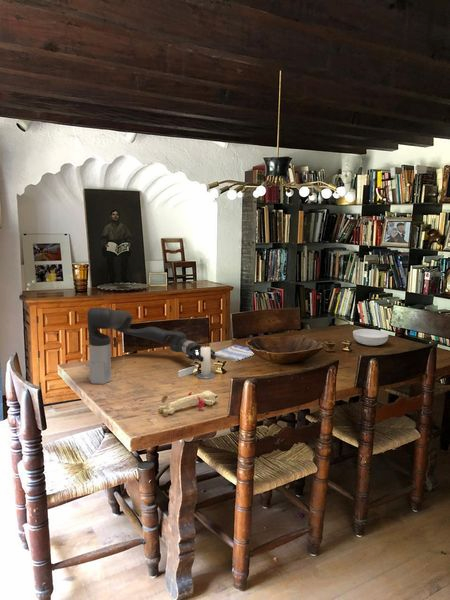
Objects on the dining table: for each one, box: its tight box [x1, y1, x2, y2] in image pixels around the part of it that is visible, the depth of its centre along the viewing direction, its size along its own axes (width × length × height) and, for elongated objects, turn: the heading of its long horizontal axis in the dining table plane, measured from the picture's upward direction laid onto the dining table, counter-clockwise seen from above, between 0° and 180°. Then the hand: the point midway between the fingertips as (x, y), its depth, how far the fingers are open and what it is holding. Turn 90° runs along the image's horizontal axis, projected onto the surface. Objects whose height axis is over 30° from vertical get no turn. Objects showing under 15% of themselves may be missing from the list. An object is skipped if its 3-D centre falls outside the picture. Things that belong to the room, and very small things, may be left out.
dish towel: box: [214, 344, 255, 362], centre depth 267 cm, size 17×24×3 cm
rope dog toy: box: [158, 390, 219, 417], centre depth 191 cm, size 10×9×25 cm
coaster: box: [195, 372, 216, 380], centre depth 230 cm, size 9×9×1 cm
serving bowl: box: [352, 328, 390, 347], centre depth 296 cm, size 21×21×7 cm
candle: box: [200, 345, 212, 376], centre depth 229 cm, size 5×5×14 cm
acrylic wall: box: [177, 365, 201, 378], centre depth 234 cm, size 1×20×3 cm, turn 140°
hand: (208, 358), depth 226 cm, fingers open, 6 cm apart
